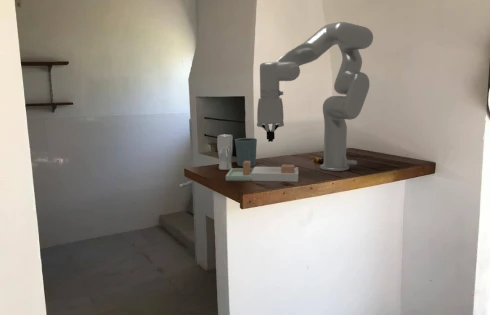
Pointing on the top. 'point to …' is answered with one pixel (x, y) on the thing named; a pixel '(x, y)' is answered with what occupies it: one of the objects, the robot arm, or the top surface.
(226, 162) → the beer glass
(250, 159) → the grey cup
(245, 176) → the tray
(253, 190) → the top surface
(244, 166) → the far tile
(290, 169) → the near tile
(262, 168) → the white slab
